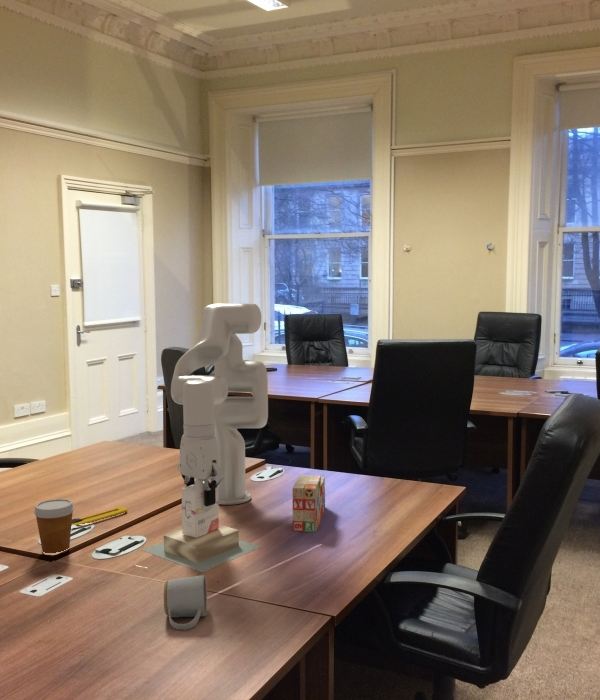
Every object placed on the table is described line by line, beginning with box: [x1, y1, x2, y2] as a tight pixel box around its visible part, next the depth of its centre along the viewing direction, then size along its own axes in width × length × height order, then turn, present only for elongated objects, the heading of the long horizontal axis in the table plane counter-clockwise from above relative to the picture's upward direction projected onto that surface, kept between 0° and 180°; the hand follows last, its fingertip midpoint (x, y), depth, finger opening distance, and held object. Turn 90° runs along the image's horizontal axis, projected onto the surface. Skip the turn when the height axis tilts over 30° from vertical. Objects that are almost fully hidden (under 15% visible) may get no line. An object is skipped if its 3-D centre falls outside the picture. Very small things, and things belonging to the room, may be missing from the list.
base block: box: [163, 523, 240, 563], centre depth 175 cm, size 12×14×4 cm
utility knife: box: [71, 506, 128, 526], centre depth 199 cm, size 7×22×2 cm, turn 138°
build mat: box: [141, 539, 262, 573], centre depth 176 cm, size 22×20×1 cm
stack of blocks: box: [292, 474, 326, 533], centre depth 198 cm, size 21×6×12 cm, turn 171°
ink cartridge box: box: [181, 478, 220, 538], centre depth 175 cm, size 9×5×15 cm, turn 145°
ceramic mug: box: [163, 574, 208, 630], centre depth 139 cm, size 11×8×8 cm
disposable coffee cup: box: [33, 498, 75, 553], centre depth 175 cm, size 10×10×12 cm
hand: (200, 501), depth 175 cm, fingers open, 5 cm apart
